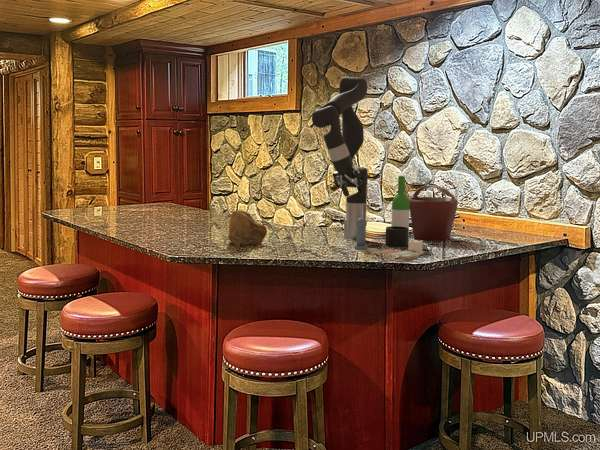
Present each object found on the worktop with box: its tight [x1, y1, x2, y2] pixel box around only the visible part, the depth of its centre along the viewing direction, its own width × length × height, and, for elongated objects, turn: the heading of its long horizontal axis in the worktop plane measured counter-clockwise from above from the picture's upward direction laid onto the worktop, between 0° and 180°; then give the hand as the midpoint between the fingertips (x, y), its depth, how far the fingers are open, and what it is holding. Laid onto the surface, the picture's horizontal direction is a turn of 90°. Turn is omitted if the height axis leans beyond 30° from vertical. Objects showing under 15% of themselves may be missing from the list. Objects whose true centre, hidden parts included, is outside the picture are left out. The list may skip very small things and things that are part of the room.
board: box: [349, 247, 420, 262], centre depth 262 cm, size 27×11×2 cm, turn 57°
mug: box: [384, 225, 409, 248], centre depth 278 cm, size 9×12×9 cm
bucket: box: [408, 184, 458, 242], centre depth 306 cm, size 24×22×25 cm
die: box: [407, 239, 424, 256], centre depth 267 cm, size 5×5×5 cm
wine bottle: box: [390, 175, 410, 242], centre depth 289 cm, size 8×8×30 cm
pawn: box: [353, 218, 368, 251], centre depth 267 cm, size 5×5×13 cm
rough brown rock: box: [227, 209, 268, 247], centre depth 285 cm, size 23×17×15 cm
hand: (354, 195), depth 258 cm, fingers open, 8 cm apart
